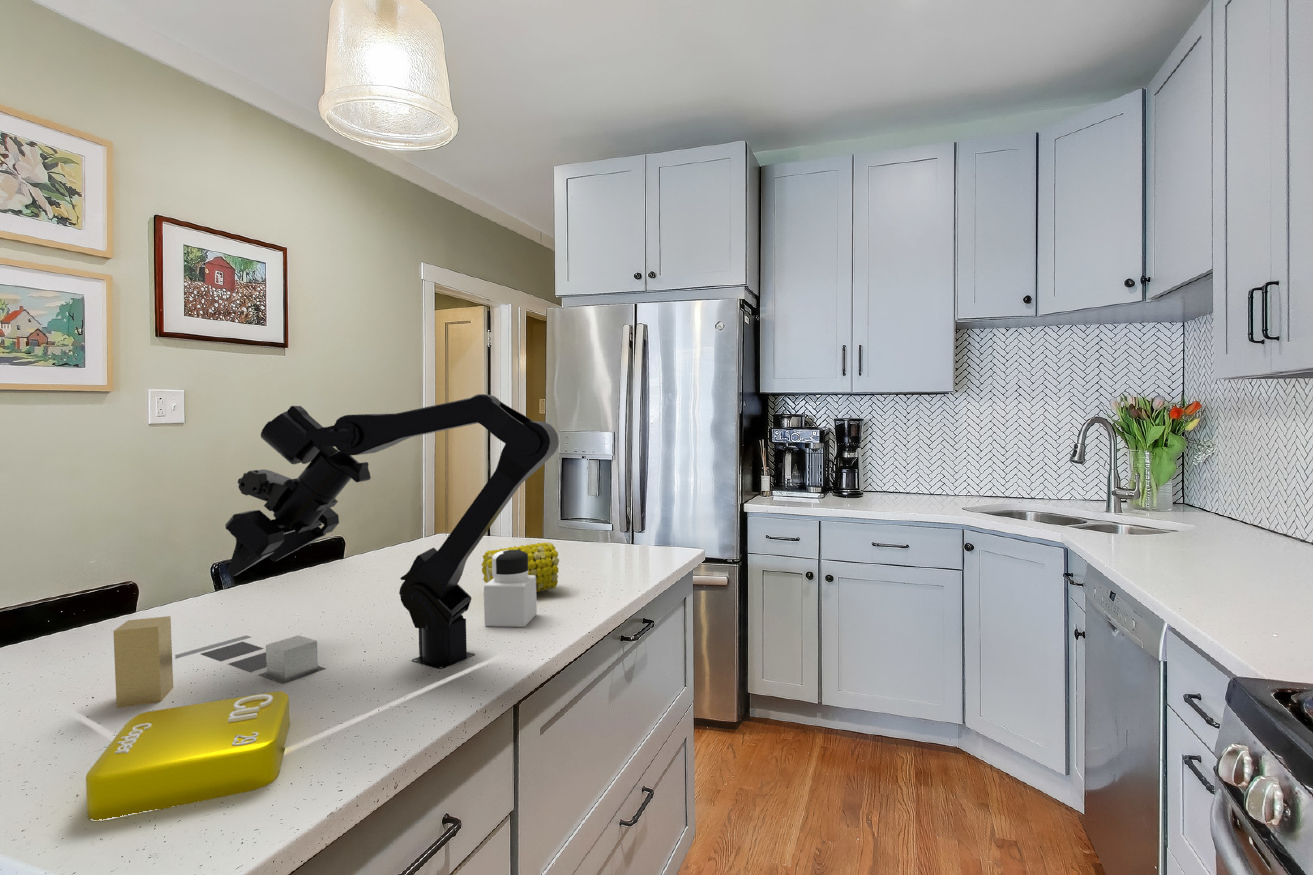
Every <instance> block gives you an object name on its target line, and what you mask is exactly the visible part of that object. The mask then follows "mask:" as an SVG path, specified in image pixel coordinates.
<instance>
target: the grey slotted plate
mask: <svg viewBox="0 0 1313 875" xmlns="http://www.w3.org/2000/svg"><path fill="white" fill-rule="evenodd" d="M251 638H252V636H250V635H246V634H245V635H243V636H239V637H235V638H232V639H231V638H230V639H228V640H224V641H220V642H217V643H214V644H210V645H207V646H204V647H199V648H195V649H192V650H189V651H185V652H181V653H177V654H174V656H175V657H174V658H175V659H180V658H184V657H188V656H190V655H194V654H197V653H200V655H202V656H205V657H207V658H210V659H212V660H216V661H218V662H224V661H226V660H230V659H233V658H238V657H241V656H244V655H247V654H250V653H254V652H257V651H260V650H263V649H264V647H261V646H257V645H254V644H252V643H249V642H246V641H243V640H247V639H251ZM240 641H241V642H240ZM232 643H233V644H232ZM215 648H216V649H215ZM212 649H213V650H212ZM228 665H230V666H232V667H235V668H237V669H240V670H243V671H246V672H249V673H252V672H255V671H259V670H262V669H265V668H267V664H266V651H265V652H262V653H259V654H255V655H251V656H249V657H246V658H241V659H239V660H236V661H233V662H230V663H228ZM326 669H327V668H326V667H322V666H320V665H318V669H317V670H314V671H311V672H308V673H306V674H303V675H300V676H297V677H294V678H291V679H288V680H286V681H285V680H282V679H279V678H277V677H274V676H271V675H268V674H267V671H266V672H262V673H259V674H258V676H259V677H262V678H265V679H268V680H271V681H274V682H276V683H278V684H280V685H281V684H282V685H284V684H287V683H290V682H292V681H295V680H299V679H302V678H305V677H307V676H309V675H312V674H315V673H318V672H321V671H324V670H326Z"/></svg>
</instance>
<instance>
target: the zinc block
mask: <svg viewBox="0 0 1313 875" xmlns="http://www.w3.org/2000/svg"><path fill="white" fill-rule="evenodd" d="M265 652H266V664H267V667H266V672H267V674H268V675H271V676H274V677H277V678H279V679H282V680H285V681H286V680H288V679H291V678H294V677H297V676H300V675H303V674H306V673H308V672H311V671H314V670H317V669H318V666H319V665H318V664H319V662H318V660H319V659H318V658H319V657H318V641H317V640H316V639H312V638H309V637H306V636H302V635H294V636H292V637H289V638H284V639H281V640H279V641H278V640H277V641H275V642H271V643H268V644H265Z"/></svg>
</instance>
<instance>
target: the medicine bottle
mask: <svg viewBox="0 0 1313 875" xmlns="http://www.w3.org/2000/svg"><path fill="white" fill-rule="evenodd" d="M492 576H493V577H494V578H493V579H492V580H491V581H489V582H488V583H486V582H485V584H484V585H483V606H484V607H483V609H484V610H483V612H484V616H483V617H484V620H483V621H484V626H485V627H496V628H497V627H505V628H508V627H509V628H511V627H512V628H525V627H526V626H527V625H528V624H530V622H531V621H533V619H534V617H535V616H536V615H537V614H538V609H537V608H538V607H537V605H538V604H537V591H536V576H535V575H528V554H527V553H526V552H523V551H521V550H504V551H500V552H497V553H496V554H494V555H493V556H492Z"/></svg>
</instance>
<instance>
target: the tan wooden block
mask: <svg viewBox="0 0 1313 875" xmlns="http://www.w3.org/2000/svg"><path fill="white" fill-rule="evenodd" d="M171 620H172V618H171V615H167V616H166V615H165V616H158V617H156V616H155V617H149V618H148V617H147V618H140V619H139V618H137V619H128V620H126V621H125V622H124V623H123V624H121V625H120V626H119V627H117V628H116V629H114V630H113V649H114V650H113V653H114V654H113V655H114V656H113V657H114V678H115V697H116V698H115V700H116V701H115V703H116V708H117V709H119V708H126V707H132V706H140V705H147V704H153V703H162V701H163V700H164V699H165V698H166V697H167V696H168V694H170V692H171V691H173V689H174V673H173V667H174V666H173V646H172V645H173V644H172V621H171Z"/></svg>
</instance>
